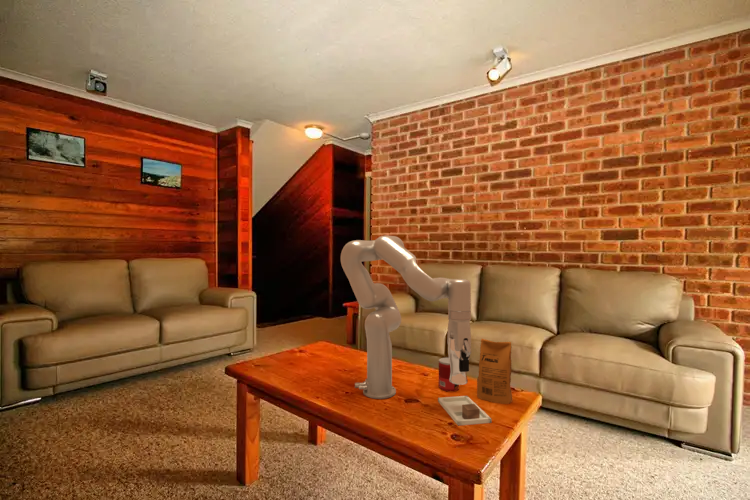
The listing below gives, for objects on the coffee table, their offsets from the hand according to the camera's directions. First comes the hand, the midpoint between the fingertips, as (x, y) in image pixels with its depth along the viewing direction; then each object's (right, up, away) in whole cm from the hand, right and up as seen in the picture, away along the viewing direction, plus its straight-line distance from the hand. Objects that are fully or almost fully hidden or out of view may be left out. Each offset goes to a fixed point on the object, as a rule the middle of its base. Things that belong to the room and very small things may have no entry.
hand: (459, 367), depth 123 cm
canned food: (0, -15, +21) cm, 25 cm away
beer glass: (-1, -5, 0) cm, 5 cm away
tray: (0, -15, -3) cm, 15 cm away
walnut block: (+1, -14, -9) cm, 16 cm away
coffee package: (+15, -15, +9) cm, 23 cm away
